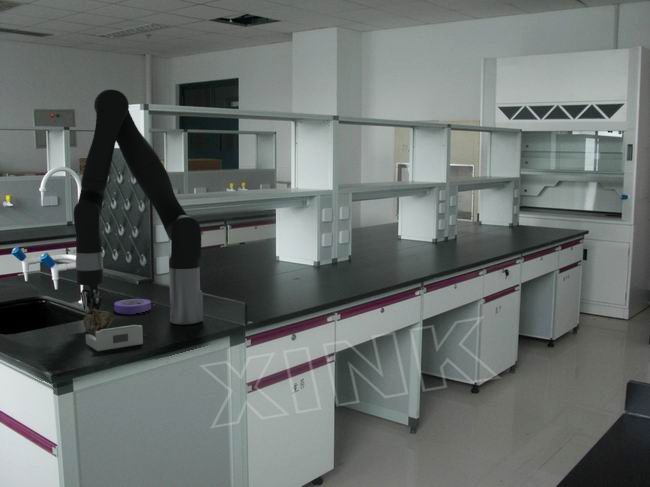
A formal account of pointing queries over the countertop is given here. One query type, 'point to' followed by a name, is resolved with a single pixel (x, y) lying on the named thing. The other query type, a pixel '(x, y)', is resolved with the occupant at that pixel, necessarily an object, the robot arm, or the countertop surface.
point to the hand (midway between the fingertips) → (91, 325)
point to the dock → (116, 337)
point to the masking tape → (132, 306)
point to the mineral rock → (97, 320)
